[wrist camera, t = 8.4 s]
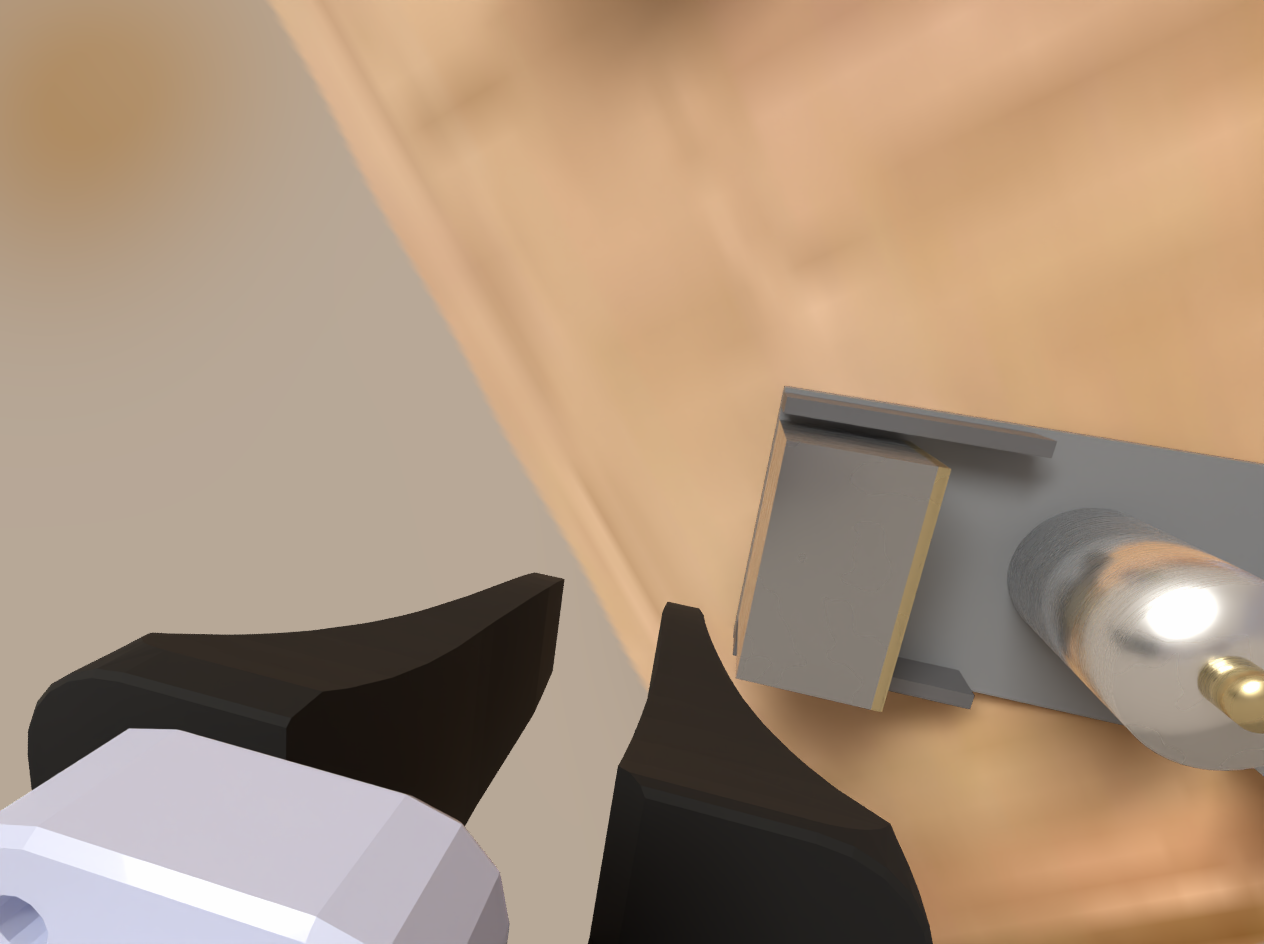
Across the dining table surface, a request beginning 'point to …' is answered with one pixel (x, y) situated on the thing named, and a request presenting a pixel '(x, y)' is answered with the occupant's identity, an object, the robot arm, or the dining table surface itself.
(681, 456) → the dining table surface
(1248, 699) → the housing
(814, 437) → the block
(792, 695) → the dining table surface
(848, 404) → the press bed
